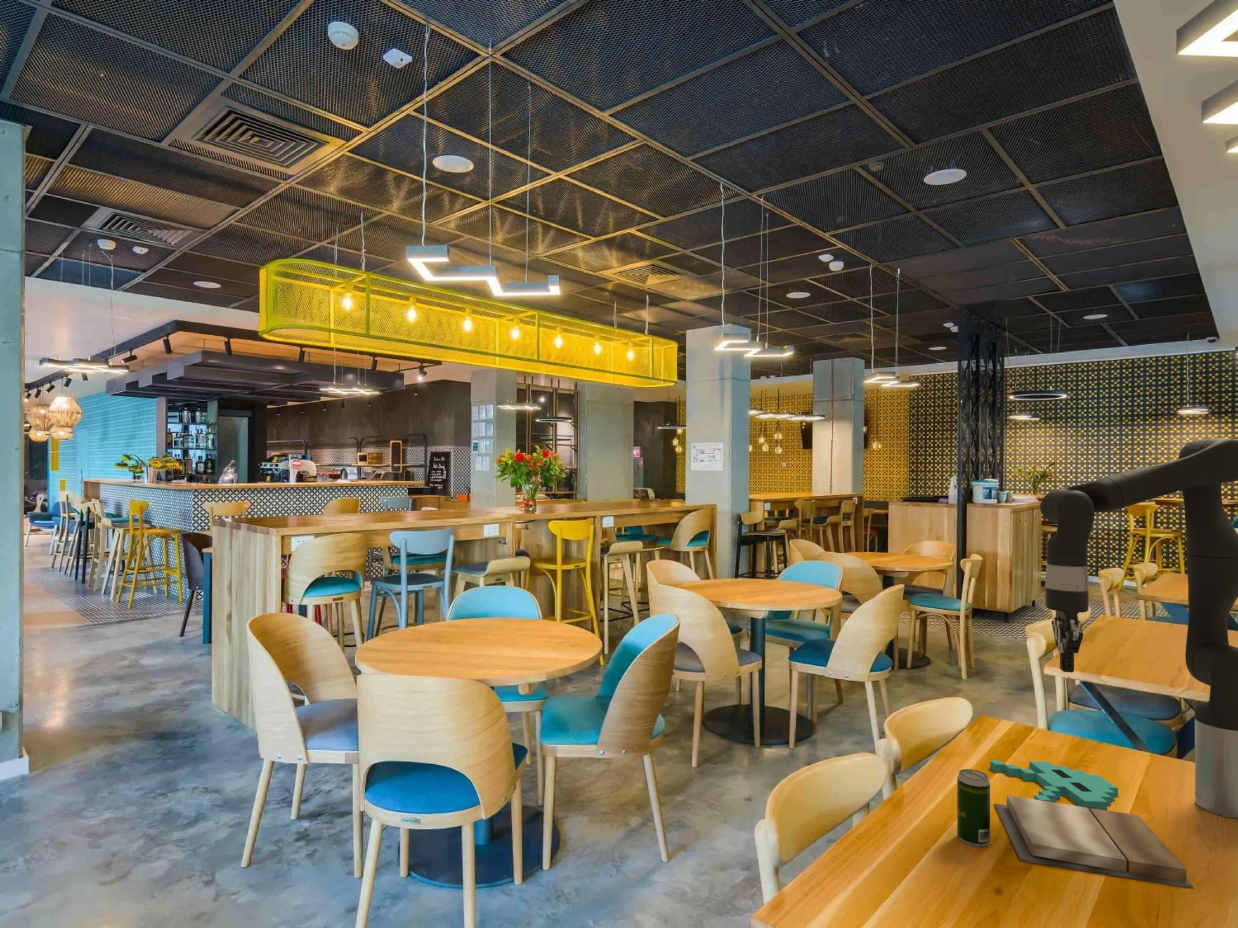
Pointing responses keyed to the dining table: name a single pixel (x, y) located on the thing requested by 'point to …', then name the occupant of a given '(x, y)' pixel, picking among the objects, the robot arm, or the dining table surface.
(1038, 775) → the alien figure
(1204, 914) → the dining table surface
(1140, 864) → the floor base
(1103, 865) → the beige flat slab
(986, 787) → the beer can
